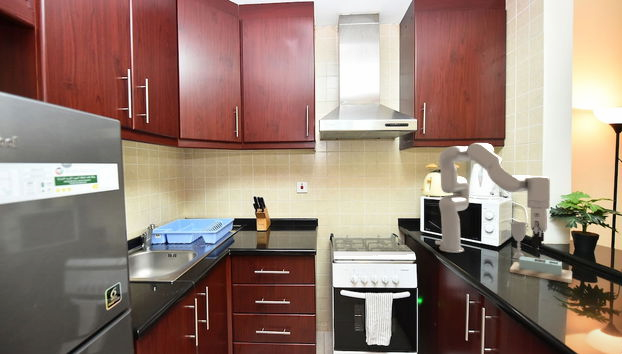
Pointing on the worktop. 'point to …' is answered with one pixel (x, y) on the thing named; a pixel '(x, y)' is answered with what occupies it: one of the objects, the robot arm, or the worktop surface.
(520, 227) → the chalice
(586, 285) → the worktop surface
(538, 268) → the flange bar
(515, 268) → the post board
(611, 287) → the worktop surface
